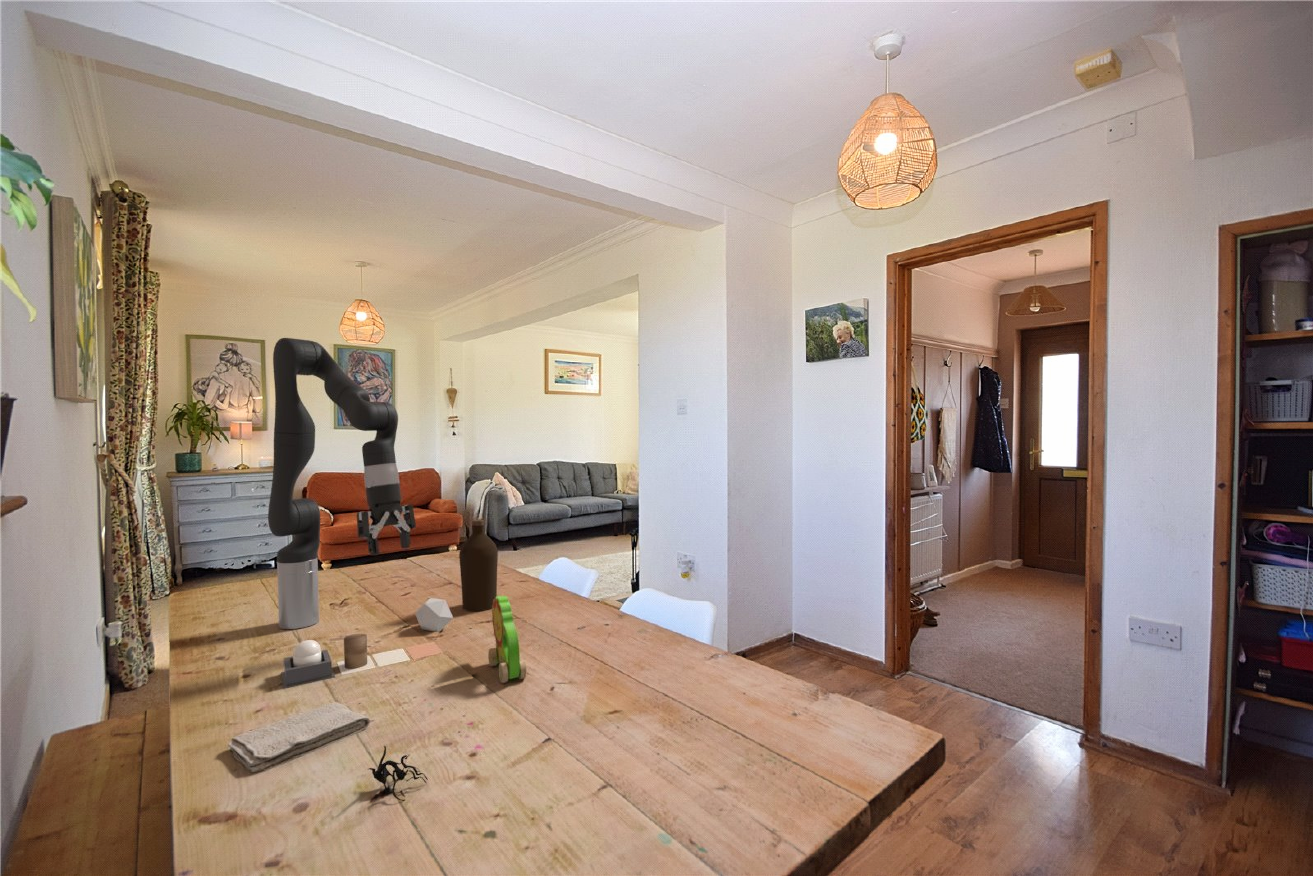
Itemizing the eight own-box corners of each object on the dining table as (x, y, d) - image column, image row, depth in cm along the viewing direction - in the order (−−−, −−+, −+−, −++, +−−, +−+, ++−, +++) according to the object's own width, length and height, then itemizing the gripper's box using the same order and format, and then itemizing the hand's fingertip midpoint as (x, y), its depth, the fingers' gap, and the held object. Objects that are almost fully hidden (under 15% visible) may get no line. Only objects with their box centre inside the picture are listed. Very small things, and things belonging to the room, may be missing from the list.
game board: (332, 665, 130) (332, 661, 130) (436, 643, 143) (436, 640, 143) (338, 681, 122) (338, 677, 122) (447, 656, 135) (447, 652, 135)
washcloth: (224, 754, 96) (223, 735, 96) (338, 711, 110) (338, 694, 110) (252, 780, 89) (252, 759, 89) (371, 729, 103) (371, 712, 103)
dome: (292, 666, 124) (292, 639, 124) (320, 660, 127) (319, 634, 127) (294, 674, 120) (293, 647, 120) (322, 668, 123) (321, 641, 123)
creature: (432, 777, 90) (380, 769, 89) (440, 743, 90) (387, 734, 89) (416, 810, 82) (358, 801, 82) (424, 772, 82) (366, 763, 82)
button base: (281, 677, 125) (280, 658, 125) (330, 666, 130) (329, 648, 130) (283, 692, 117) (282, 672, 117) (335, 680, 122) (334, 661, 122)
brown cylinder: (343, 663, 129) (342, 636, 129) (365, 659, 132) (364, 632, 131) (346, 670, 125) (345, 642, 125) (368, 665, 128) (368, 637, 128)
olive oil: (490, 612, 166) (488, 523, 166) (454, 612, 167) (452, 523, 167) (504, 601, 177) (502, 517, 176) (469, 600, 178) (467, 517, 177)
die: (459, 630, 154) (451, 595, 159) (446, 623, 147) (438, 587, 151) (429, 643, 153) (422, 608, 158) (414, 637, 146) (407, 600, 150)
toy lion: (528, 681, 121) (527, 606, 121) (501, 687, 118) (499, 611, 118) (509, 655, 135) (508, 588, 135) (485, 659, 133) (483, 591, 132)
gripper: (396, 482, 151) (404, 546, 150) (345, 488, 138) (353, 558, 137) (417, 479, 147) (425, 545, 147) (366, 485, 135) (375, 556, 134)
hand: (390, 551), depth 142 cm, fingers open, 8 cm apart
